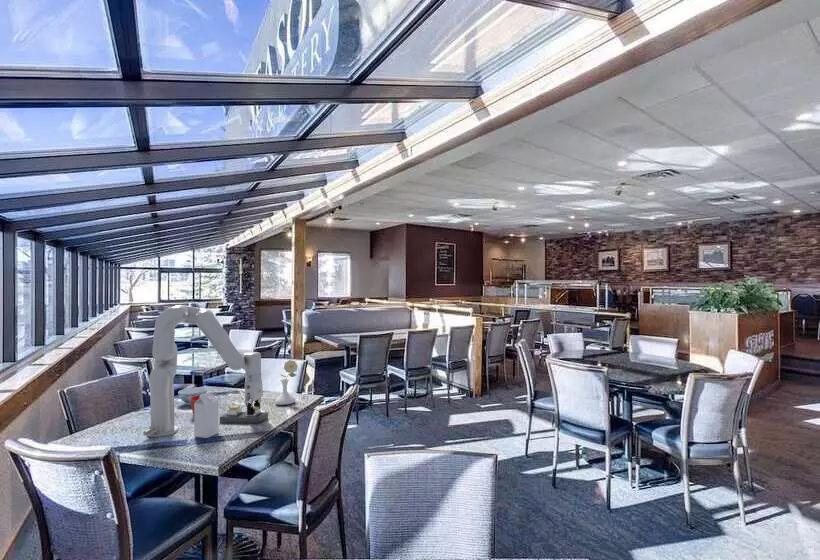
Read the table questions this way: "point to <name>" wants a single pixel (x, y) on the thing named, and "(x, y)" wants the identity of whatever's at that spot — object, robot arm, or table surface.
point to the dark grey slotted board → (244, 418)
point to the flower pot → (194, 402)
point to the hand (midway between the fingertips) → (253, 412)
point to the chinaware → (191, 393)
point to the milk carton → (206, 416)
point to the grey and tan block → (255, 412)
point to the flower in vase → (285, 396)
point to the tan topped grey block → (234, 411)
